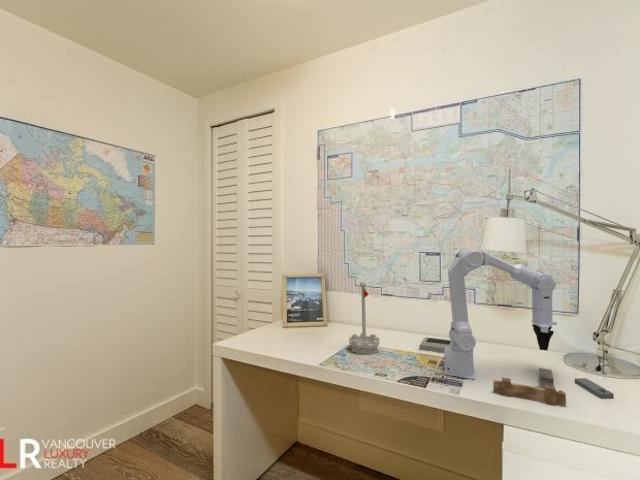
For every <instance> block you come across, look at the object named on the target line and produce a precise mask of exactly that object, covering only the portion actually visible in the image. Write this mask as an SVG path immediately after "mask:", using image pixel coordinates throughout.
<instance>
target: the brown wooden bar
mask: <svg viewBox="0 0 640 480" xmlns="http://www.w3.org/2000/svg"><path fill="white" fill-rule="evenodd" d="M492 384H493V385H492V387H493V388H492V389H493V394H499V395H501V396H506V397H510V398H512V397H514V398H519V399H526V400H530V401H535V402H541V403H545V404H546V405H552V406H559V407H560V406H561V407H567V393H566V392H564V390H561V389H559V390H557V388H556V386H555V385H554V386H550V385H545V389H543V388H540V386H539V385H538V386H537V385H535V386H530V385H525V384H519V383H514V382H512V379H511V378H507V377H501V380H497V379H493V381H492Z"/></svg>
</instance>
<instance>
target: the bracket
mask: <svg viewBox="0 0 640 480" xmlns="http://www.w3.org/2000/svg"><path fill="white" fill-rule="evenodd" d="M574 384H576V385H577V386H579V387H580V388H582V389H584V390H585V391H587V392H589V393H590V394H592V395H594V396H595V397H597V398H598V399H600V400H601V399H602V400H605V399H606V400H608V399H609V400H612V399H613V400H614V396H615V395H614V393H613V392H612V391H609V390H607V389H606V388H604V387H603V386H601V385H599V384H598V383H596V382H594V381H592V380H591V379H588V378H587V377H584V378H583V377H581V378H578V377H577V378H574Z"/></svg>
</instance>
